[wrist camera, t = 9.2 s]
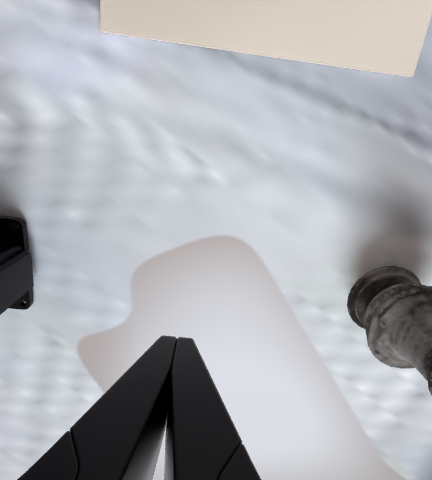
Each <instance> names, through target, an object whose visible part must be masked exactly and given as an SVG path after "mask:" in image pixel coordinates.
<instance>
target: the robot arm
mask: <svg viewBox="0 0 432 480" xmlns="http://www.w3.org/2000/svg"><path fill="white" fill-rule="evenodd" d="M14 223H16V224H17V225H18V226H19V229H17V228H16V227H15V225H14ZM33 286H34V283H33V272H32V261H31V253H30V252H29V247H28V236H27V226H26V223H25V222H24V220H22V219H21V218H17V217H8V216H0V314H2V313H3V312H4V311H5V310H6V309H8V308H12V309H23V310H24V309H28V308H29V307H30V306H31V305H32V304H33V291H32V287H33ZM23 300H24V301H25V302H26V303H24V302H23ZM166 421H167V424H166ZM165 427H166V440H165V474H164V480H261V479H260V476H259V475H258V473H257V471H256V469H255V467H254V465H253V463H252V461H251V459H250V457H249V455H248V453H247V451H246V448H245V446H244V445H243V444H242V440H241V438H240V436H239V434H238V432H237V430H236V428H235V426H234V424H233V422H232V420H231V417H230V416H229V413H228V412H227V409H226V407H225V405H224V403H223V401H222V399H221V397H220V394H219V392H218V390H217V388H216V386H215V384H214V382H213V380H212V378H211V376H210V374H209V371H208V369H207V367H206V365H205V363H204V361H203V359H202V357H201V355H200V353H199V351H198V349H197V346H196V345H195V342H194V340H193V339H192V338H183V337H179V338H178V339H177V338H176V337H172V336H161V337H160V338H159V339H158V340H157V341H156V342H155V343H154V344H153V345H152V346H151V347H150V348H149V349H148V350H147V351H146V352H145V353H144V354H143V355H142V356H141V357H140V358H139V359H138V360H137V361H136V362H135V363H134V364H133V365H132V366H131V367H130V368H129V369H128V370H127V371H126V372H125V373H124V374H123V375H122V377H120V378H119V380H117V381H116V383H115V384H114V385H113V386H112V387H111V388H110V389H109V390H108V391H107V392H106V393H105V394H104V395H103V396H102V397H101V398H100V399H99V400H98V401H97V402H96V403H95V404H94V405H93V406H92V407H91V408H90V409H89V410H88V411H87V412H86V413H85V414H84V415H83V416H82V417H81V418H80V419H79V420H78V421H77V422H76V423H75V424H74V425H73V426H72V427H71V428H70V431H67V432H66V433H65V434H64V435H63V436H62V437H61V438H60V439H59V440H58V441H57V442H56V443H55V444H54V445H53V446H52V447H51V448H50V449H49V450H48V451H47V452H46V453H45V454H44V455H43V456H42V457H41V458H40V459H39V460H38V461H37V462H36V463H35V464H34V465H33V466H32V467H31V468H30V469H29V470H28V471H26V472H25V473H24V474H23V475H22V476H21V477H20V478H19V479H17V480H152V478H153V474H154V471H155V467H156V463H157V459H158V455H159V452H160V448H161V444H162V440H163V436H164V431H165Z"/></svg>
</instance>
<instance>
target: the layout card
mask: <svg viewBox="0 0 432 480" xmlns="http://www.w3.org/2000/svg"><path fill="white" fill-rule="evenodd" d="M431 16H432V0H100V31H101V32H102V33H109V34H116V35H123V36H130V37H137V38H143V39H150V40H157V41H164V42H171V43H178V44H185V45H191V46H198V47H205V48H212V49H219V50H226V51H233V52H239V53H246V54H253V55H260V56H267V57H274V58H281V59H287V60H294V61H301V62H308V63H315V64H322V65H328V66H335V67H342V68H349V69H356V70H363V71H370V72H376V73H383V74H390V75H397V76H404V77H413V75H414V72H415V68H416V65H417V62H418V58H419V55H420V52H421V49H422V45H423V42H424V39H425V35H426V32H427V29H428V26H429V22H430V19H431Z"/></svg>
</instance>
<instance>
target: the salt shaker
mask: <svg viewBox="0 0 432 480" xmlns="http://www.w3.org/2000/svg"><path fill="white" fill-rule="evenodd" d="M347 306H348V312H349V314H350V316H351V318H352V320H353V321H354V322H355V323H356V324H357V325H358V326H360V327H362V328H364V329H366V335H367V341H368V346H369V348H370V350H371V352H372V354H373V355H374V356H375V357H376V358H377V359H378V360H379V361H380V362H382V363H384V364H386V365H389V366H391V367H397V368H416V369H417V370H418V371H419V372H420V373H421V374H422V375H423V377H424V378H425V379H426V380H427V381H428V387H429V391H430V393H431V395H432V286H425V285H421V284H420V282H419V279H418V278H417V277H416V276H415V275H414V274H413V273H412V272H410V271H408V270H406V269H404V268H400V267H396V266H390V267H382V268H378V269H375V270H373V271H371V272H369V273H367V274H365V275H364V276H363V277H362V278H361V279H359V280H358V281H357V283H356V284H355V285H354V287H353V288H352V290H351V292H350V294H349V297H348V304H347Z"/></svg>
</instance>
